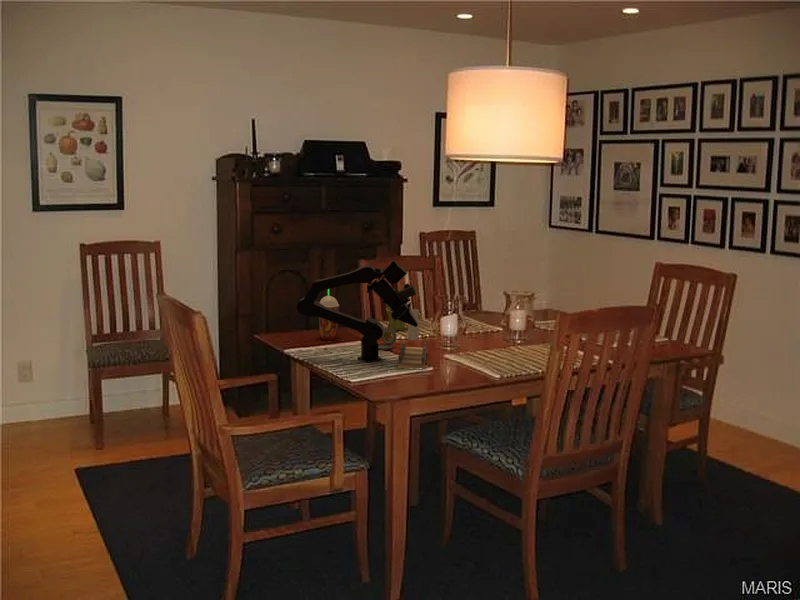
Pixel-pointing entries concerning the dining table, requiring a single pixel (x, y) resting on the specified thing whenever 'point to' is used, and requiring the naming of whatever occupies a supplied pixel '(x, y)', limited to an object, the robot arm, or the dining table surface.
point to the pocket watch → (386, 335)
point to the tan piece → (412, 357)
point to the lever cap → (414, 330)
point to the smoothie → (328, 327)
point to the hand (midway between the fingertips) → (417, 324)
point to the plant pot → (395, 322)
